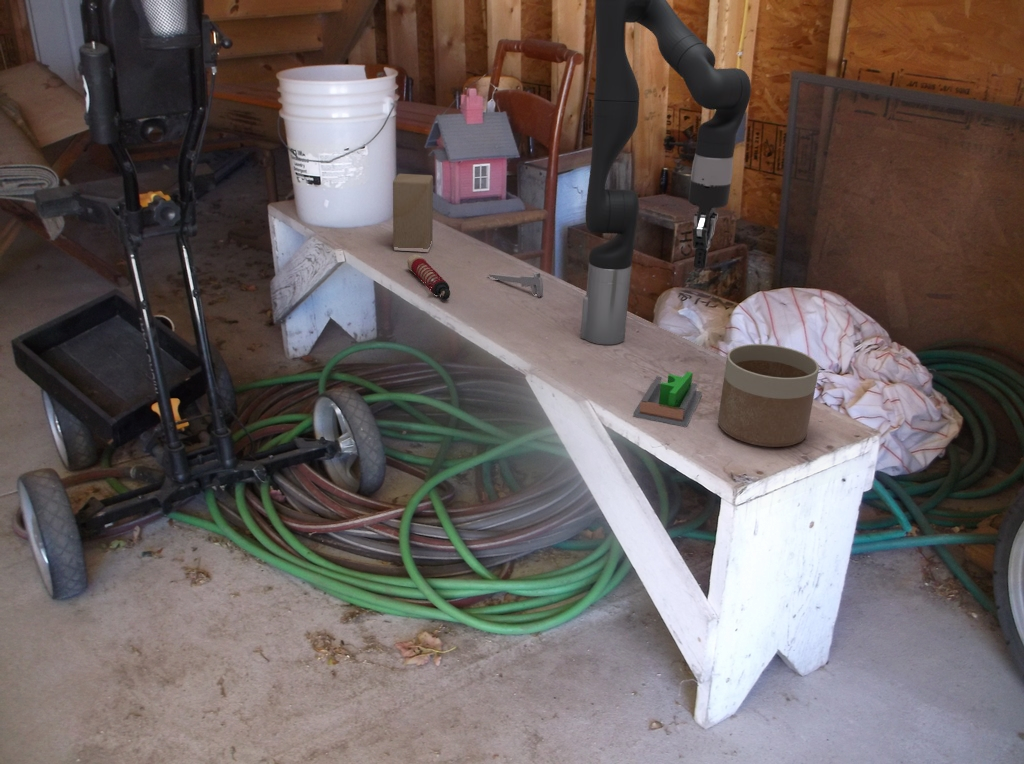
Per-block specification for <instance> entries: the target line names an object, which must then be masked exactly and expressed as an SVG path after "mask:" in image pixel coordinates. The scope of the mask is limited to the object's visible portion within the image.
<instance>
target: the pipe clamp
mask: <svg viewBox="0 0 1024 764" xmlns="http://www.w3.org/2000/svg"><path fill="white" fill-rule="evenodd" d="M693 374H694V373H693V372H691V371H690V372H689V371H687V372H685V374H684V375H683V376H679V375H674V374H671V373H669V374H668V375H667V382H662V381H661V388H660V397H659V404H662V405H667V406H673V407H678V408H679V407H680V405H681V403H682V401H683V400H684V398H685V396H686V394H687V392H688V390H689V388H690V386H691V384H692V383H693V382H692V381H693Z"/></svg>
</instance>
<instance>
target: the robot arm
mask: <svg viewBox="0 0 1024 764" xmlns="http://www.w3.org/2000/svg"><path fill="white" fill-rule="evenodd" d="M594 8H595V9H594V10H595V11H594V12H595V39H596V41H595V42H596V44H595V45H596V52H595V53H596V57H595V59H596V60H595V83H594V84H595V85H594V95H593V99H594V100H593V109H592V110H593V111H592V113H593V114H592V140H591V144H592V145H591V156H590V157H591V158H590V159H591V161H590V168H589V179H588V186H587V193H586V195H587V196H586V202H585V203H586V205H585V224H586V228H587V230H588V232H590V233H592V234H613V235H614V234H616V235H615V236H614V237H613V238H611V239H610V240H608V241H607V242H604V243H602V244H598V245H597V246H594V247H593V248H591V250H590V251H589V255H588V258H589V260H588V270H587V282H586V283H587V286H586V295H585V296H584V297H583V301H582V310H581V311H582V313H581V314H582V315H581V325H580V326H581V327H580V338H579V339H584V340H586V341H588V342H590V343H593V344H598V345H608V346H609V345H610V346H611V345H617V344H620V343H622V342H624V340H625V337H626V336H625V335H626V327H627V326H626V325H627V315H628V306H629V305H628V304H629V293H630V286H631V285H630V283H631V273H632V263H633V262H632V261H633V256H634V249H635V242H636V241H635V240H636V232H637V229H638V228H637V227H638V221H639V214H640V201H639V197H638V194H637V192H636V191H635V190H632V189H616V188H615V189H610V188H609V189H608V188H606V184H607V179H608V176H609V173H610V171H611V169H612V167H613V165H614V163H615V161H616V160H617V158H618V157H619V155H620V154H621V151H623V150H624V147H626V145H627V144H628V143H629V141H630V139H631V138H632V136H633V134H634V133H635V131H636V129H637V127H638V120H639V109H640V89H639V88H640V87H639V84H638V82H637V81H638V80H637V79H636V75H635V74H634V70H633V68H632V67H631V64H630V61H629V58H628V56H627V52H626V45H625V43H626V42H625V27H626V23H628V24H631V23H632V24H634V23H637V24H639V25H641V26H643V27H644V28H645V29H647V30H649V31H650V32H651V33H652V34H653V35H654V37H655V38H656V42H657V47H658V49H659V52H660V55H661V56H662V57H663V60H664V61H665V62H666V63H667V64H668V65H669V66H670V67H671V68H672V70H674V72H676V73H677V74H678V75H679V76H680V77H681V78H683V81H684V83H685V86H686V87H687V90H688V91H689V94H690V95H691V97H692V99H693V100H694V102H695V103H696V104H698V105H699V106H700V107H702V108H704V109H707V110H715V112H714V113H713V117H712V118H711V119H709V120H707V121H705V122H703V123H701V124H700V126H699V128H698V130H697V135H696V136H697V137H696V143H695V146H696V147H695V152H694V157H693V161H692V165H691V166H692V167H691V175H690V181H689V182H690V183H689V191H688V198H687V199H688V202H689V204H691V205H692V206H697V207H698V210H697V211H696V213H695V214H694V217H693V224H694V226H693V227H692V230H691V231H692V247H693V249H695V251H694V258H693V259H694V260H693V267H694V268H696V269H702V270H703V269H704V268H706V266H707V261H708V254H709V249H710V247H711V243H712V242H713V236H714V234H715V230H716V229H715V228H716V222H717V221H718V217H719V213H717V212H716V209H719V208H724V207H725V208H726V207H727V206H728V205H729V199H730V192H731V187H732V186H731V184H732V178H733V172H734V171H733V169H734V154H735V153H734V152H735V146H736V136H737V133H738V131H739V129H740V126H741V125H742V121H743V119H744V116H745V114H746V110H747V108H748V105H749V104H750V103H749V102H750V99H751V93H752V84H751V83H752V82H751V80H750V77H749V74H748V73H747V72H746V71H745V70H743V69H741V68H737V67H734V68H733V67H730V68H728V67H727V68H716V67H715V65H716V56H715V54H714V52H713V51H712V49H711V48H710V47H709V46H708V45H707V44H706V43H704V41H703V40H701V39H700V38H699V37H698V36H697V34H695V33H694V32H693V31H692V30H691V29H690V28H689V27H688V26H687V25H686V24H685V23H684V22H683V21H682V19H681V18H680V17H679V15H678V14H677V13H676V12H675V10H674V9H673V8H672V7H671V5H670V4H669V2H668V1H667V0H595V5H594Z"/></svg>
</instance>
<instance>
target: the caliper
mask: <svg viewBox="0 0 1024 764" xmlns="http://www.w3.org/2000/svg"><path fill="white" fill-rule="evenodd" d="M488 276H490V277H493V278H495V279H498V280H500V281H499V282H507V283H515V284H521V285H520V286H521V287H525V288H527V287H530V290H531V293H532V295H533V294H534V295H535V294H537V295H538V296H539V298H541V297H540V296H542V297H543V295H544V294H543V293H544V283H543V282H544V281H543V277H541V273H540V272H539V273H538V272H534V273H533V275H531V276H530V275H521V276H516V275H515V276H514V275H508V274H506V275H505V274H496V273H489V275H488ZM538 296H537V297H538Z"/></svg>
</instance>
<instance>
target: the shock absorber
mask: <svg viewBox="0 0 1024 764" xmlns="http://www.w3.org/2000/svg"><path fill="white" fill-rule="evenodd" d="M406 261H407V268H408V269H409V270H410V271H411V270H412V271H413V272H414V273H415V274H416V275H415V274H414V273H413V272H412V271H411V272H412V273H413V274H414V275H415V276H416V277H417V276H418V277H417V278H418V279H419V278H420V279H419V280H420V281H421V280H422V281H421V282H422V283H423V282H424V284H423V285H424V286H425V285H426V286H427V287H428V288H429V289H428V288H427V287H426V286H425V287H426V288H427V289H428V290H429V291H430V289H431V291H430V292H431V293H432V294H435V295H438V296H439V295H440V294H441V297H440V298H441V299H442V300H444V301H447V300H449V298H450V297H451V290H450V285H449V284H448V282H447V281H446V280H444V278H443V277H442V276H441V275H440V274H439V273H438V272H437V271H436V270H435V269H434V268H433V267H432V266H431V265H430V264H429V263H428V262H427V260H426V259H425V258H424V257H423V256H422V255H419V254H416V253H414V254H412V255H411V256H410V257H408V258H407V260H406ZM425 281H426V283H425ZM427 284H428V285H427ZM432 284H433V285H432ZM429 285H430V286H429ZM431 287H432V288H431Z"/></svg>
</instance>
